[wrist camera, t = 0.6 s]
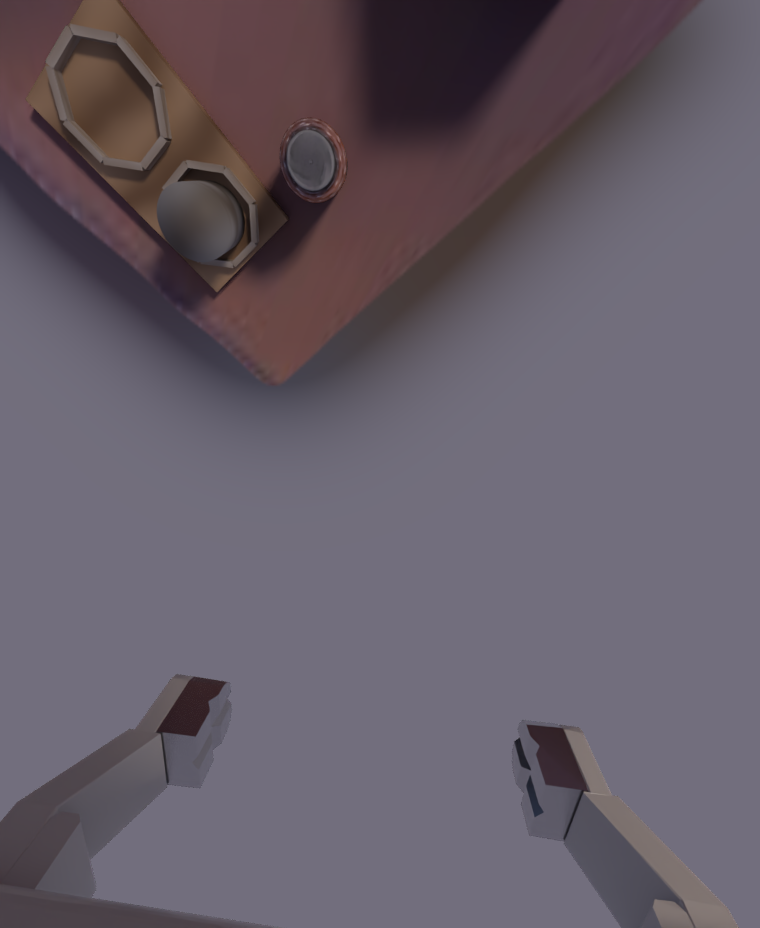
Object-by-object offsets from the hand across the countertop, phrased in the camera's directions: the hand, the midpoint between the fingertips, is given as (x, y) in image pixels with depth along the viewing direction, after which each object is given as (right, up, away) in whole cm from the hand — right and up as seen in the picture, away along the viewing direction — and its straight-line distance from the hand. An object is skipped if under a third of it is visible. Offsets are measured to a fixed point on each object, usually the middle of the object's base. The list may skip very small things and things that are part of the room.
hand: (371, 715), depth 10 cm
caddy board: (-21, +38, +29) cm, 52 cm away
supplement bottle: (-6, +39, +29) cm, 49 cm away
